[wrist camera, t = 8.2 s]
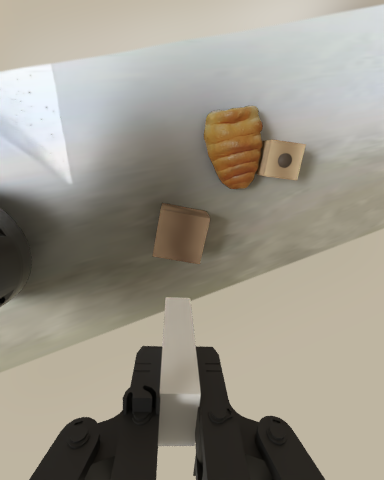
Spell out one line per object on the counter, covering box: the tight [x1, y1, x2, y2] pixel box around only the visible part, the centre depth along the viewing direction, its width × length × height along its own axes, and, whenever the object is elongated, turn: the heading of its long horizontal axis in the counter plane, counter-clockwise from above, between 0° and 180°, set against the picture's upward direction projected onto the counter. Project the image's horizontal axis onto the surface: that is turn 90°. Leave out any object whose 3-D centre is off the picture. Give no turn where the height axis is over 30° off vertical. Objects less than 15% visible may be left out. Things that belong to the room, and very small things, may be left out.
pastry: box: [204, 106, 263, 189], centre depth 30 cm, size 9×7×4 cm
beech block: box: [255, 140, 306, 180], centre depth 31 cm, size 4×4×4 cm
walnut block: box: [153, 203, 210, 264], centre depth 33 cm, size 6×6×4 cm
